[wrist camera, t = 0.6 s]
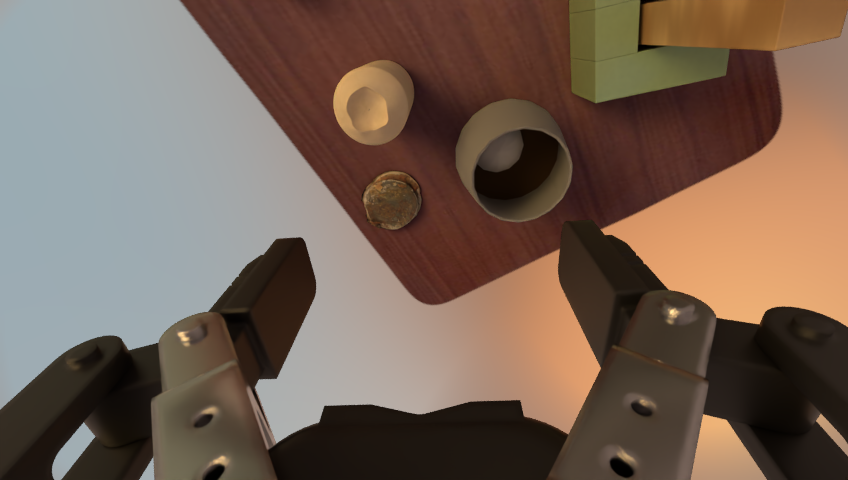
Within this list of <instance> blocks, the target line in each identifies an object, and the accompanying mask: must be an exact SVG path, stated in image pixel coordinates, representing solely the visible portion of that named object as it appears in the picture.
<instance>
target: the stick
mask: <svg viewBox="0 0 848 480" xmlns="http://www.w3.org/2000/svg"><path fill="white" fill-rule="evenodd" d="M847 10H848V0H647V1H642V2H640V14H639V35H638V44H639V45H660V46H681V47H702V48H723V49H744V50H765V51H777V50H782V49H787V48H791V47H796V46H801V45H805V44H810V43H815V42H819V41H824V40H828V39H832V38H837V37H840V36H841V32H842V29H843V25H844V21H845V17H846V14H847Z"/></svg>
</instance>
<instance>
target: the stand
mask: <svg viewBox="0 0 848 480" xmlns="http://www.w3.org/2000/svg"><path fill="white" fill-rule="evenodd" d="M569 13H570V14H569V21H570V56H571V88H572V93H573V94H576V95H578V96H580V97H582V98H585V99H587V100H589V101H592V102H594V103H600V102H604V101H609V100H614V99H618V98H623V97H628V96H633V95H637V94H642V93H647V92H651V91H656V90H661V89H665V88H670V87H675V86H680V85H684V84H689V83H694V82H698V81H703V80H708V79H712V78H717V77H722V76H725V75H726V70H727V64H728V57H729V51H730V49H723V48H702V47H681V46H660V45H639V44H638V35H639V14H640V0H569Z"/></svg>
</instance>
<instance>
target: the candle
mask: <svg viewBox="0 0 848 480" xmlns="http://www.w3.org/2000/svg"><path fill="white" fill-rule="evenodd" d="M413 101H414V86H413V82H412V80H411V78H410V76H409V74H408V73H407V71H406V70H405V69H404V68H403V67H402V66H400V65H399V64H397V63H395V62H392V61H388V60H378V61H374V62H371V63H369V64H366V65H364V66H361V67H359V68H357V69H354V70H352V71H350V72H349V73H347V74H346V75H345V76H344V77H343V78H342V79H341V81H340V82H339V84H338V86H337V88H336V91H335V94H334V103H333V104H334V112H335V116H336V119H337V121H338V123H339V125H340V126H341V128H342V129H343V130H344V132H345V133H346V134H347V135H349V136H350V137H351V138H352V139H354V140H356V141H358V142H360V143H363V144H367V145H380V144H384V143H387V142H389V141H391V140H392V139H394V138H395V137H396V136H397V135H398V134H399V133H400V132H401V131H402V129H403V127H404V126H405V123H406V121H407V118H408V115H409V113H410V110H411V107H412V104H413Z"/></svg>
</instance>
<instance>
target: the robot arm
mask: <svg viewBox="0 0 848 480" xmlns="http://www.w3.org/2000/svg"><path fill="white" fill-rule="evenodd" d="M558 274H559V281H560V284H561V287H562V289H563V291H564V293H565V295H566V297H567V299H568V301H569V303H570V305H571V307H572V309H573V311H574V313H575V315H576V317H577V320H578V322H579V324H580V326H581V328H582V330H583V332H584V334H585V336H586V338H587V340H588V342H589V344H590V346H591V348H592V351H593V352H594V355H595V357H596V359H597V361H598V363H599V365H600V367H601V370H600V372H599V374H598V376H597V378H596V380H595V382H594V384H593V386H592V388H591V390H590V392H589V394H588V396H587V398H586V400H585V402H584V404H583V406H582V408H581V410H580V412H579V414H578V417H577V418H576V421H575V423H574V425H573V427H572V429H571V431H570V433H569V435H568V434H566V433H565V432H563V431H561V430H559V429H558V428H555V427H553V426H551V425H549V424H547V423H544V422H541V421H538V420H535V419H532V418H527V417H524V415H523V411H522V406H521V402H520V400H511V401H477V402H468V403H464V404H460V405H457V406H453V407H449V408H445V409H441V410H438V411H434V412H430V413H426V414H412V413H407V412H403V411H398V410H394V409H389V408H385V407H380V406H375V405H340V406H324V409H323V412H322V416H321V419H320V422H319V423H316V424H313V425H310V426H308V427H305V428H303V429H301V430H299V431H297V432H295V433H293V434H291V435H289V436H287V437H286V438H284V439H283V440H281V441H279V442H278V443H277V444H276V441H275V439H274V436H273V434H272V431H271V428H270V425H269V423H268V420H267V417H266V415H265V412H264V409H263V407H262V404H261V401H260V399H259V396H258V394H257V391H256V389H255V386H256V384H257V382H258V380H259V379H277V377H278V375H279V372H280V370H281V368H282V366H283V364H284V362H285V360H286V358H287V355H288V353H289V351H290V349H291V347H292V345H293V343H294V340H295V338H296V336H297V334H298V332H299V329H300V328H301V325H302V323H303V321H304V319H305V317H306V315H307V313H308V310H309V308H310V306H311V304H312V302H313V300H314V297H315V293H316V280H315V275H314V272H313V268H312V265H311V261H310V257H309V254H308V251H307V247H306V243H305V241H304V240H303V238H300V237H299V238H283V239H276V240H275V241H274V242H273V244H272V245H271V246H270V248H269V249H268V250H267V251H266V253H265V254H264V255H260V256H259V257H258V258H256V259H255V260H253V261H252V262H250V263H249V264H247V266H246V267H245V268H244V269H243V270H242V271H241V273H240V274H239V277H237V278H236V279H235V280H234V281H233V282H232V286H229V287H228V288H227V290H226V291H225V292H224V293H223V295H222V296H221V297H220V298H219V299H218V301H217V302H216V303H215V304H214V305H213V307H212V308H211V309H210V310H209V311H208V312H203V313H198V314H195V315H192V316H189V317H187V318H184V319H183V320H181V321H179V322H177V323H175V324H174V325H172V326H171V327H170V328H169V329H168V330H166V331H165V332H164V334H163V335H162V336H161V338H160V340H159V343H156V344H153V345H149V346H144V347H140V348H136V349H132V350H128V349H127V347H126V346H125V344H124V343H123V341H122V339H121V338H119V337H117V336H102V337H98V338H94V339H91V340H89V341H86V342H83V343H81V344H79V345H77V346H75V347H73V348H71V349H70V350H68V351H66V352H65V353H63V354H62V355H61V356H59V357H58V358H57V359H56V360H55V361H53V362H52V363H51V364H50V365H49V366H48V367H47V368H46V369H45V370H44V371H42V372H41V373H40V374H39V375H38V376H37V377H36V378H35V379H34V380H33V381H32V382H30V383H29V384H28V385H27V386H26V387H25V388H24V389H23V390H21V392H19V393H18V394H17V395H16V396H15V397H14V398H13V399H12V400H11V401H10V402H8V403H7V404H6V405H5V406H4V407H3V408H2V409H1V410H0V480H54V479H53V476H52V465H53V462H54V459H55V457H56V455H57V453H58V452H59V451H60V449H61V448H62V447H63V446H64V445H65V443H66V442H67V441H68V440H69V439H70V438H71V436H72V435H73V434H74V433H75V432H76V430H77V429H78V428H79V427H80V426H81V424H83V422H84V423H85V424H86V425H87V426H88V428H89V429H90V430H91V431H92V433H93V434H94V435H95V436H96V437H95V438H94V439H93V440H92V442H91V443H90V444H89V446H88V447H87V448H86V449H85V451H84V452H83V453H82V454H81V456H80V457H79V458H78V460H77V461H76V462H75V463H74V465H73V466H72V467H71V469H70V470H69V471H68V472H67V473H66V475H65V476H64V477H63V478H62V480H139V479H140V477H141V476H142V474H143V472H144V471H145V469H146V468H147V466H148V464H149V463H150V461H151V459H152V458H153V457H154V477H155V480H690V479H691V474H692V469H693V463H694V458H695V453H696V448H697V443H698V437H699V432H700V427H701V422H702V416H703V414H705V415H709V416H713V417H717V418H722V419H726V420H727V421H728V422H729V424H730V425H731V427H732V428H733V430H734V431H735V433H736V434H737V436H738V437H739V439H740V440H741V442H742V443H743V445H744V446H745V447H746V449H747V450H748V452H749V453H750V455H751V456H752V458H753V459H754V461H755V462H756V464H757V465H758V467H759V468H760V470H761V471H762V473H763V474H764V476H765V477H766V479H767V480H848V456H847V455H846V454H845V453H844V452H843V451H842V449H841V448H840V447H839V446H838V445H837V444H836V443H835V442H834V441H833V439H831V437H830V436H829V435H828V434H827V433H826V432H825V431H824V429H823V428H822V427H820V425H819V424H818V423H817V422H816V420H817V418H818V417H819V415H820V414H822V415H823V416H824V417H825V418H826V419H827V420H828V421H829V422H830V423H831V424H832V425H833V427H834V428H835V429H836V430H837V431H838V432H839V433H840V434H841V435H842V436H843V438H844V439H845V440H846V442H847V443H848V327H846V326H845V325H843V324H841V323H840V322H838V321H836V320H834V319H832V318H830V317H827V316H825V315H823V314H820V313H816V312H814V311H810V310H806V309H801V308H795V307H775V308H771V309H769V310H767V311H766V312H765V314H764V316H763V318H762V320H761V322H760V324H752V323H745V322H739V321H733V320H726V319H720V318H716V315H715V313H714V311H713V310H712V309H711V308H710V307H709V306H708V305H707V304H705V303H704V302H702V301H701V300H699V299H697V298H695V297H693V296H690V295H688V294H684V293H681V292H677V291H671V290H668V289H667V288H666V286H664V284H663V283H662V282H661V281H660V280H659V279H658V278H657V276H656V275H655V274H654V273H653V272H652V271H651V270H650V269H649V268H648V266H647V265H646V264H644V263H643V261H642V260H641V259H640V258H639V256H636V253H635V252H634V251H633V250H632V249H631V248H630V246H629V245H628V244H627V243H625V242H623V241H622V240H620V239H618V238H616V237H614V236H613V235H604V234H603V232H602V231H601V230H600V229H599V227H598V226H597V225H596V224H595V223H594V221H592V220H580V221H566V222H564V224H563V227H562V235H561V244H560V255H559V264H558Z"/></svg>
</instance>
